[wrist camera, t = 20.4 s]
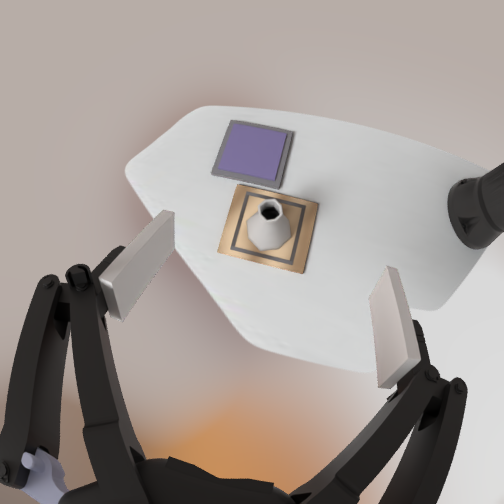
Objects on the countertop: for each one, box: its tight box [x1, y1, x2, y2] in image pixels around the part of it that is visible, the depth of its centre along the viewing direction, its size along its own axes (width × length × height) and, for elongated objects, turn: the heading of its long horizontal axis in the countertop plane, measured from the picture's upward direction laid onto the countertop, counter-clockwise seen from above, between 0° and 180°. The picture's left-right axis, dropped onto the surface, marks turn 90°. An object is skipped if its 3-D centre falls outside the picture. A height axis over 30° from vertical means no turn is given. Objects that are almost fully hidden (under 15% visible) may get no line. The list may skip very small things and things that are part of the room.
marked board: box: [217, 184, 318, 274], centre depth 44 cm, size 14×12×1 cm
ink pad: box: [211, 120, 293, 190], centre depth 46 cm, size 12×12×1 cm
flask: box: [246, 198, 291, 251], centre depth 39 cm, size 7×7×10 cm
